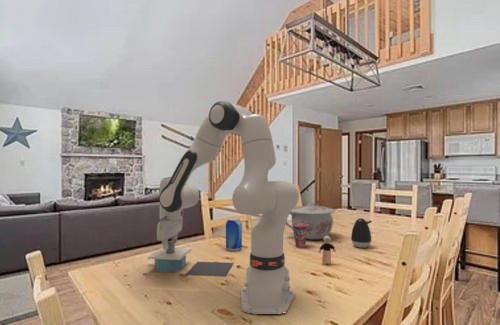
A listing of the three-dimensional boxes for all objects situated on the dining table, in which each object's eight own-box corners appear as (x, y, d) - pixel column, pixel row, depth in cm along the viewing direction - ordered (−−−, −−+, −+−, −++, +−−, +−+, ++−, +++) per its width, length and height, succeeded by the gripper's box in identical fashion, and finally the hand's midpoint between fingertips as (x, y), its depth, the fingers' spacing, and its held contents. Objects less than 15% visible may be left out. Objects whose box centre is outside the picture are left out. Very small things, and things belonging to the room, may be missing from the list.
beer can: (222, 250, 164) (222, 219, 164) (231, 246, 171) (231, 217, 171) (236, 252, 160) (236, 220, 160) (244, 248, 168) (244, 218, 168)
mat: (226, 277, 125) (226, 276, 125) (184, 276, 127) (184, 274, 127) (234, 264, 142) (234, 262, 142) (197, 262, 144) (197, 261, 144)
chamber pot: (341, 235, 196) (340, 201, 196) (327, 245, 172) (327, 207, 172) (298, 230, 210) (298, 199, 210) (281, 239, 186) (280, 204, 186)
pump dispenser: (372, 250, 162) (372, 220, 162) (351, 248, 165) (350, 219, 165) (371, 245, 172) (371, 217, 172) (351, 243, 175) (351, 216, 175)
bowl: (178, 273, 130) (178, 259, 130) (150, 272, 132) (150, 258, 132) (188, 264, 142) (188, 250, 142) (162, 263, 144) (162, 250, 144)
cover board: (180, 259, 129) (180, 246, 129) (147, 258, 131) (147, 245, 131) (191, 250, 143) (191, 238, 143) (161, 249, 145) (161, 237, 145)
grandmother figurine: (321, 266, 138) (321, 237, 138) (317, 263, 142) (317, 235, 142) (337, 264, 140) (337, 236, 140) (333, 262, 144) (332, 234, 144)
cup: (301, 249, 164) (301, 226, 164) (289, 246, 170) (289, 224, 170) (312, 246, 170) (312, 224, 170) (300, 243, 176) (300, 222, 176)
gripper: (167, 218, 126) (167, 253, 126) (184, 210, 147) (185, 240, 147) (152, 218, 127) (152, 252, 127) (171, 210, 147) (172, 240, 147)
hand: (170, 246), depth 137 cm, fingers open, 8 cm apart
